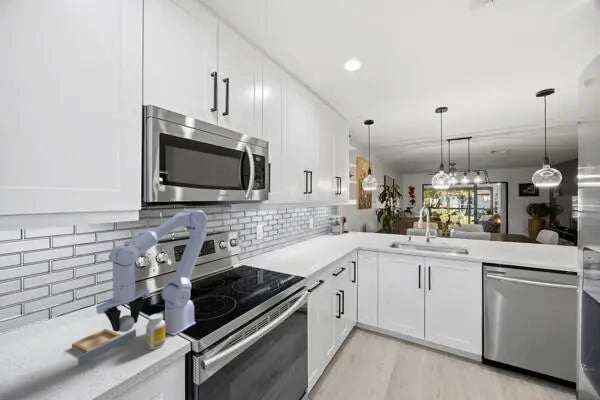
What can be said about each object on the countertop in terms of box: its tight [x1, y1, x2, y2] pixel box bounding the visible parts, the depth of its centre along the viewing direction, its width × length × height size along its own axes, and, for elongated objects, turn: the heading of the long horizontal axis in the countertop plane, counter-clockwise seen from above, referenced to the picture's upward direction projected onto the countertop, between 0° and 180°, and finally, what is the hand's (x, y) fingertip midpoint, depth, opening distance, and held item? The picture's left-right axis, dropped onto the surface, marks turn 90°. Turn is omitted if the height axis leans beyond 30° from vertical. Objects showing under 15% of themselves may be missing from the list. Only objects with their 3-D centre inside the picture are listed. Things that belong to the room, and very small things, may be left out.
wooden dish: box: [71, 328, 122, 354], centre depth 83 cm, size 10×10×2 cm
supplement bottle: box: [145, 312, 166, 350], centre depth 82 cm, size 5×5×10 cm
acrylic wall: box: [77, 328, 137, 366], centre depth 80 cm, size 16×1×2 cm, turn 154°
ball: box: [118, 314, 135, 333], centre depth 80 cm, size 5×5×5 cm
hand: (125, 326), depth 80 cm, fingers closed on ball, 5 cm apart
